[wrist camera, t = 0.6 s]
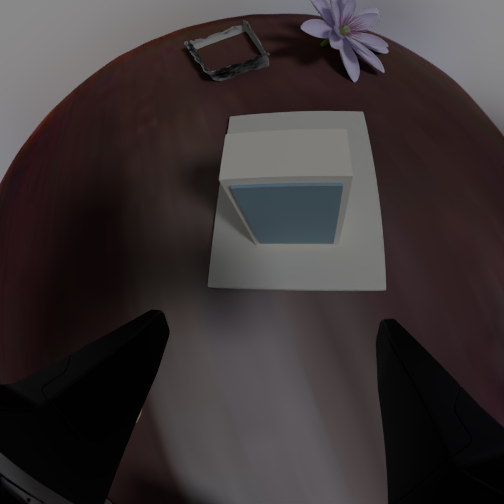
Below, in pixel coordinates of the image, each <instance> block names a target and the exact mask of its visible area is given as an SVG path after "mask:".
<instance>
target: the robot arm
mask: <svg viewBox="0 0 504 504" xmlns="http://www.w3.org/2000/svg"><path fill="white" fill-rule="evenodd" d="M168 338H169V327H168V324H167V321H166V318H165V315H164V313H163V311H161V310H150V311H148V312H146V313H144V314H143V315H141V316H139V317H137V318H135V319H134V320H132V321H130V322H128V323H127V324H125V325H123V326H121V327H119V328H118V329H116V330H114V331H112V332H111V333H109V334H107V335H105V336H103V337H102V338H100V339H98V340H96V341H94V342H93V343H91V344H89V345H87V346H86V347H84V348H82V349H80V350H78V351H77V352H75V353H73V354H72V356H71V355H69V356H68V357H66V358H64V359H62V360H61V361H59V362H57V363H55V364H53V365H51V366H49V367H47V368H45V369H43V370H41V371H39V372H37V373H34V374H32V375H30V376H28V377H26V378H23V379H21V380H19V381H17V382H14V383H11V384H5V385H0V504H105V501H106V498H107V496H108V493H109V490H110V488H111V485H112V482H113V480H114V477H115V475H116V472H117V469H118V466H119V464H120V461H121V459H122V456H123V454H124V451H125V449H126V446H127V444H128V441H129V439H130V436H131V434H132V431H133V429H134V426H135V424H136V422H137V419H138V417H139V414H140V412H141V410H142V407H143V405H144V402H145V400H146V398H147V395H148V393H149V391H150V388H151V386H152V384H153V381H154V379H155V377H156V374H157V372H158V369H159V366H160V363H161V360H162V356H163V353H164V350H165V347H166V344H167V341H168ZM376 357H377V380H378V394H379V401H380V408H381V416H382V424H383V433H384V443H385V454H386V467H387V485H388V504H504V427H503V426H502V425H501V424H500V423H498V422H497V421H496V420H495V419H494V418H493V417H492V416H491V415H490V414H488V413H487V412H486V411H485V410H484V409H483V408H482V407H481V406H480V405H479V404H478V403H477V402H476V401H475V400H474V399H473V398H472V397H471V396H470V395H469V394H468V393H467V392H466V391H465V390H464V389H463V388H462V387H460V384H459V383H458V382H457V381H456V380H455V379H454V378H453V377H452V376H451V375H450V374H449V373H448V372H447V371H446V370H445V369H444V368H443V367H442V366H441V365H440V364H439V363H438V362H437V361H436V360H435V359H434V358H433V357H432V355H431V354H430V353H429V352H428V351H427V350H426V349H425V348H424V347H423V346H422V345H421V344H420V343H419V342H418V341H417V340H416V339H414V338H413V337H412V336H411V335H410V334H409V333H408V332H407V331H406V330H405V329H404V328H403V327H402V326H401V325H400V324H399V323H398V322H397V321H396V320H395V319H382V320H381V322H380V325H379V330H378V334H377V338H376Z"/></svg>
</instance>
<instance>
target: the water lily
mask: <svg viewBox="0 0 504 504" xmlns="http://www.w3.org/2000/svg"><path fill="white" fill-rule="evenodd" d="M311 1H312V3H313V5H314V7H315V8H316V10H317V11H318V13H319V14H320V15H321V16H322V17H323V18H324V19H325V20H326V21H327V22H328V23H327V22H325V21H323V20H318V19H311V20H308V21H306V22H304V23H303V24H302V25H301V29H302V30H303V31H304V32H306V33H308V34H310V35H312V36H315V37H318V38H326V39H325V40H324V41H323V42H322V43H321V44H320V45H321V46H322V47H324V46H325V45H326V44H327V43H329V42H330V45H331V47H333V48H335V49H339V52H340V56H341V59H342V62H343V64H344V67H345V69H346V71H347V72H348V74H349V76H350V78H351V79H352V81H353V82H356V81H357V80H358V78H359V72H360V69H359V63H358V60H357V57H356V55H355V53H354V51H353V49H354V50H355V51H356V52H357V53H358V54H359V55H360V56H361V57H362V58H363V59H365V60H366V61H367V62H368V63H370V64H371V65H372V66H374V67H375V68H377V69H378V70H380V71H381V72H383V73H384V68H383V65H382V63H381V62H380V60H379V59H378V58H377V57H376V55H375V54H374V53H372V52H371V51H370V50H369V49H371V50H373V51H376V52H379V53H387V52H388V50H387V48H386V47H388V44H387V43H386V42H385V41H384V40H382V39H381V38H379V37H377V36H374V35H371V34H367V33H361V32H356V31H357V30H364V29H367V28H370V27H372V26H374V25H376V24H377V23H378V21H379V20H380V17H381V16H380V15H379V10H378V9H376V8H366V9H363V10H361V11H359V12H357V13H356V14H355V15H353V13H354V11H355V8H356V0H330V3H331V7H330V6H329V4H328V3H327V1H326V0H311ZM352 15H353V16H352ZM350 45H351V46H350ZM352 48H353V49H352ZM367 48H368V49H367Z"/></svg>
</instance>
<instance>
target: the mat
mask: <svg viewBox="0 0 504 504" xmlns="http://www.w3.org/2000/svg"><path fill="white" fill-rule="evenodd" d="M295 129H347V136H348V142H349V149H350V157H351V164H352V172H353V178H352V184H351V189H350V194H349V199H348V204H347V209H346V214H345V218H344V223H343V228H342V232H341V236H340V241H339V245H338V246H256V244H255V242H254V240H253V239H252V237H251V235H250V233H249V232H248V230H247V228H246V226H245V225H244V223H243V221H242V219H241V218H240V216H239V214H238V212H237V211H236V209H235V207H234V205H233V204H232V202H231V200H230V198H229V197H228V195H227V193H226V191H225V190H224V188H223V186H222V184H221V183H220V186H219V194H218V201H217V209H216V217H215V225H214V233H213V241H212V250H211V259H210V268H209V277H208V287H209V288H226V289H254V290H296V291H385V290H386V274H385V256H384V242H383V231H382V221H381V212H380V203H379V196H378V188H377V181H376V175H375V169H374V163H373V157H372V152H371V146H370V141H369V136H368V132H367V127H366V122H365V118H364V114H363V112H352V111H304V112H281V113H265V114H253V115H242V116H233V117H230V120H229V126H228V132H227V134H235V133H245V132H258V131H273V130H295Z"/></svg>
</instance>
